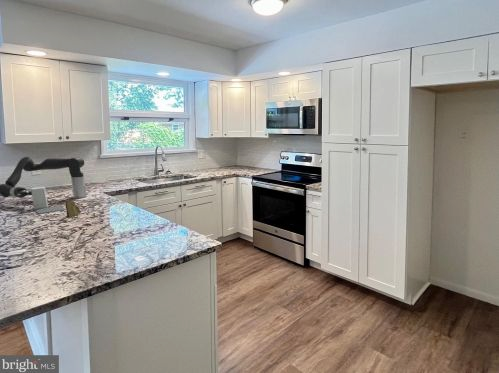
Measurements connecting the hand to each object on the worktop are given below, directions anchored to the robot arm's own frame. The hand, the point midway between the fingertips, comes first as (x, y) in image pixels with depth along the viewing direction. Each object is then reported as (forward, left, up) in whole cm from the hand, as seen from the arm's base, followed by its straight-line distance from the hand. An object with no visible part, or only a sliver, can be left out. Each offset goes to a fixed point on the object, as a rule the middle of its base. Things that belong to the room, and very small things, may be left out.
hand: (34, 193), depth 242 cm
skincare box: (-2, +4, -10) cm, 11 cm away
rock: (-14, +44, -10) cm, 48 cm away
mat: (-5, +17, -10) cm, 21 cm away
